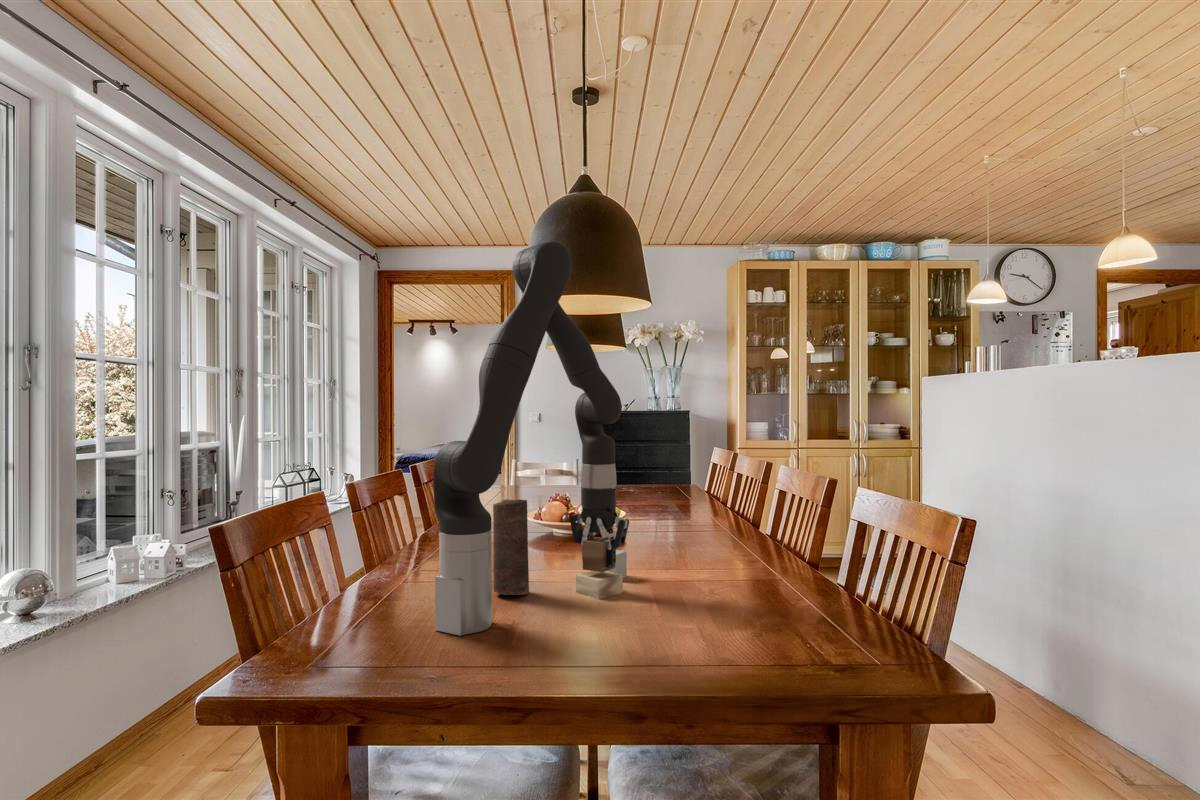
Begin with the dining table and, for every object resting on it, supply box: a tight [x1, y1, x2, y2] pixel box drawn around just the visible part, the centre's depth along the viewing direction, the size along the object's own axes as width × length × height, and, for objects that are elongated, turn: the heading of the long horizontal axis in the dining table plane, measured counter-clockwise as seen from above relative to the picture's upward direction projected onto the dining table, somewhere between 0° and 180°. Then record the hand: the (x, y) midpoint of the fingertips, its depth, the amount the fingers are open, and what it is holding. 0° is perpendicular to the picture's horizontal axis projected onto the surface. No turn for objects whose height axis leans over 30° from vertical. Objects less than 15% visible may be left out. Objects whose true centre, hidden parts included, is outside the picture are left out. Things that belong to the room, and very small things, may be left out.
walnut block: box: [582, 536, 615, 572], centre depth 141 cm, size 5×5×6 cm
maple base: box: [575, 570, 624, 600], centre depth 141 cm, size 7×7×4 cm
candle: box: [492, 499, 530, 596], centre depth 139 cm, size 8×7×20 cm
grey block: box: [608, 549, 628, 579], centre depth 153 cm, size 5×5×6 cm
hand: (599, 564), depth 141 cm, fingers closed on walnut block, 5 cm apart
